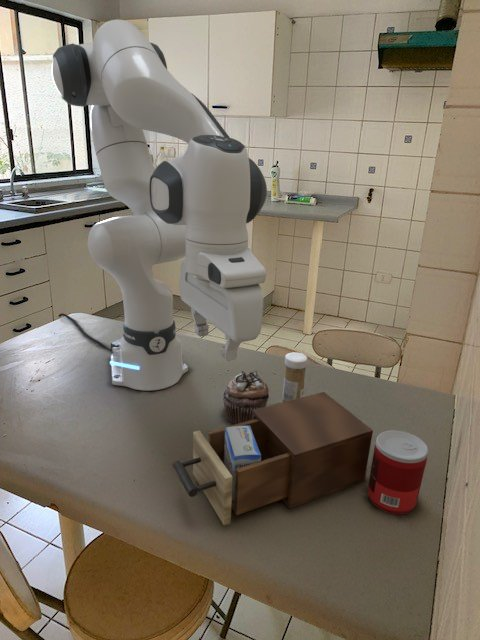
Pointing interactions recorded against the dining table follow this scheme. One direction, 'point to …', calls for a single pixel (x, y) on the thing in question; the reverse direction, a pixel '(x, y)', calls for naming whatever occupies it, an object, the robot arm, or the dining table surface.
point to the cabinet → (318, 445)
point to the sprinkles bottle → (294, 376)
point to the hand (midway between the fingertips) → (214, 345)
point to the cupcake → (244, 396)
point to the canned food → (397, 471)
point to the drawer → (237, 472)
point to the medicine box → (239, 450)
